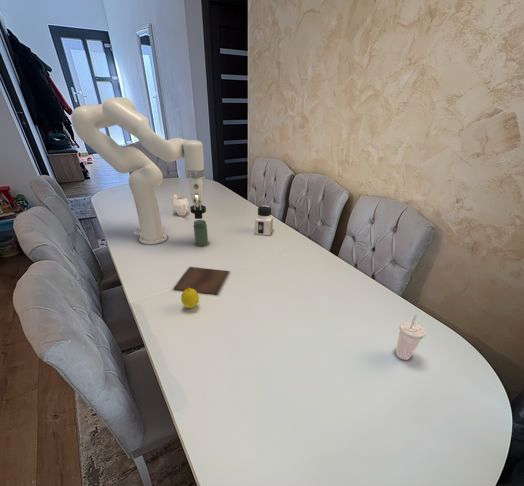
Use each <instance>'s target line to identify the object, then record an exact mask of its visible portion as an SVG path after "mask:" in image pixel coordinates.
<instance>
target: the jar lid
mask: <svg viewBox="0 0 524 486" xmlns="http://www.w3.org/2000/svg"><path fill="white" fill-rule="evenodd" d="M189 209H190V210H189V211H190V213H191V214H193V215H195V214H194V210H195V208H194V204H193V205H191V206H189ZM201 209H202V215H203V214H205V213H206V212H207V207H206V206H205V205H204V204H203V205H201Z"/></svg>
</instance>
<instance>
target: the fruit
mask: <svg viewBox="0 0 524 486" xmlns="http://www.w3.org/2000/svg"><path fill="white" fill-rule="evenodd" d="M180 299H181V303H182V305H184V307H186V308H187V309H193V308H195V307H196V306H197V305H198V304H199V301H200V295H199V293H197V292H196V290H194V289H191V288H187V289H186V290H184V291H183V292H182V293H181V296H180Z"/></svg>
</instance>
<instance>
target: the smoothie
mask: <svg viewBox="0 0 524 486" xmlns="http://www.w3.org/2000/svg"><path fill="white" fill-rule="evenodd" d="M417 317H418V315H417V314H414V315H413V317H412V320H405V321H402V322H401V323H400V324H399V326H398V330H399V331H398V332H399V333H398V339H397V344H396V350H395V356H397V358H399V359H400V360H403V361H407V360H410V358H411V357H412V355H413V354H414V352H415V351H416V349H417V347H418V345H419V344H420V342H421V340H422V339H424V338H426V333H427V331H426V328H424V326H423V325H421V324H420V323H419V322H417V321H416V320H417Z"/></svg>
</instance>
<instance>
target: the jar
mask: <svg viewBox="0 0 524 486" xmlns="http://www.w3.org/2000/svg"><path fill="white" fill-rule="evenodd" d="M208 233H209V232H208V224H207V221H206V220H204V219H195V220H194V222H193V237H194V244H195V246H197V247H206V246H208V245H209V234H208Z"/></svg>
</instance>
